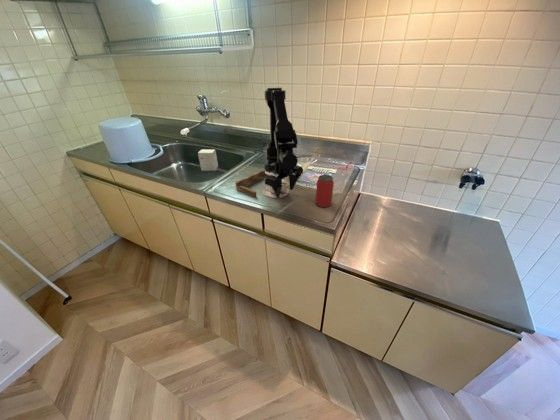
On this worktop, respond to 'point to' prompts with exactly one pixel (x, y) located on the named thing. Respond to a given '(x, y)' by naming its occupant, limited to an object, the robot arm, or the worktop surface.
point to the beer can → (324, 190)
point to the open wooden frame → (250, 182)
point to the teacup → (273, 191)
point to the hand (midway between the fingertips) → (284, 193)
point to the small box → (208, 160)
